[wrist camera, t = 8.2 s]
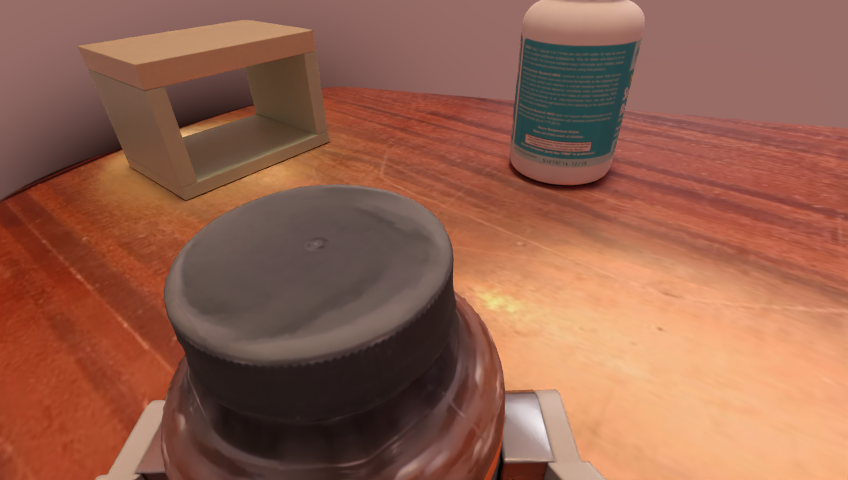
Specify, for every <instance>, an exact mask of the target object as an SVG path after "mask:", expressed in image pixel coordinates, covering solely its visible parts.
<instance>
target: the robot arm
mask: <svg viewBox="0 0 848 480" xmlns="http://www.w3.org/2000/svg"><path fill="white" fill-rule="evenodd" d="M164 404H165V400H153V401H152V402H151V403H150V404H149V405H148V406H147V407H146V408H145V409H144V411H143V413H142V414H141V416H140V418H139V420H138V421H137V423H136V425H135V427H134V428H133V430H132V432H131V434H130V435H129V437H128V439H127V441H126V442H125V444H124V446H123V448H122V450H121V451H120V453H119V455H118V457H117V458H116V460H115V462H114V464H113V465H112V467H111V469H110V471H109V472H108V474H107V475H100V476H98V477H97V478H96V479H95V480H168V477H167V475H166V472H165V468H164V461H163V458H162V454H161V424H162V416H163V407H164ZM497 480H607V479H606V478H605V477H604V476H603V475H602V474H601V473H600V472H599V471H598V470H597V469H596V468H595V467H594V466H593V465H592V464H591V463H590V462H584V461H582V460H581V457H580V454H579V451H578V448H577V445H576V442H575V439H574V436H573V432H572V429H571V426H570V423H569V420H568V417H567V414H566V411H565V408H564V405H563V402H562V398H561V395H560V393H559V392H558V391H557V390H555V389H553V390H513V391H505V420H504V428H503V435H502V446H501V452H500V464H499V467H498V473H497Z"/></svg>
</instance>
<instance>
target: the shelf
mask: <svg viewBox="0 0 848 480" xmlns="http://www.w3.org/2000/svg"><path fill="white" fill-rule="evenodd" d="M78 48H79V50H80V53H81V55H82V57H83V60H84V62H85V64H86V66H87V68H88V71H89V73H90V75H91V78H92V80H93V82H94V85H95V87H96V89H97V91H98V94H99V96H100V98H101V100H102V103H103V105H104V107H105V110H106V112H107V114H108V117H109V119H110V121H111V123H112V126H113V128H114V130H115V133H116V135H117V137H118V140H119V142H120V144H121V147H122V149H123V151H124V153H125V155H126V158H127V160H128V162H129V165H130V167H132V168H134V169H135V170H137V171H138V172H140V173H142V174H143V175H145V176H147V177H148V178H150V179H152V180H153V181H155V182H157V183H158V184H160V185H161V186H163V187H165V188H166V189H168V190H170V191H171V192H173V193H175V194H176V195H178V196H180V197H181V198H183V199H184V200H188V199H191V198H193V197H196V196H198V195H200V194H203V193H205V192H208V191H210V190H213V189H215V188H217V187H220V186H222V185H225V184H227V183H230V182H232V181H235V180H237V179H239V178H242V177H244V176H247V175H249V174H252V173H254V172H257V171H259V170H261V169H264V168H266V167H269V166H271V165H274V164H276V163H278V162H281V161H283V160H286V159H288V158H291V157H293V156H296V155H298V154H300V153H303V152H305V151H308V150H310V149H313V148H315V147H317V146H320V145H322V144H325V143H327V142H329V137H328V131H327V123H326V117H325V110H324V103H323V97H322V90H321V83H320V76H319V70H318V63H317V57H316V51H315V50H316V48H315V41H314V36H313V30H310V29H303V28H297V27H291V26H284V25H277V24H271V23H264V22H258V21H251V20H241V21H235V22H228V23H221V24H215V25H209V26H203V27H196V28H190V29H183V30H178V31H171V32H165V33H158V34H152V35H145V36H139V37H132V38H127V39H120V40H113V41H107V42H101V43H94V44H88V45H81V46H78ZM244 67H245V69H246V73H247V77H248V82H249V86H250V90H251V94H252V98H253V102H254V107H255V111H256V115H252V116H249V117H246V118H243V119H240V120H237V121H233V122H230V123H227V124H224V125H221V126H218V127H214V128H211V129H208V130H205V131H202V132H199V133H195V134H192V135H189V136H186V137H183V138H182V136H181V133H180V130H179V127H178V124H177V121H176V118H175V115H174V113H173V110H172V107H171V104H170V101H169V99H168V95H167V92H166V90H165V87H164V86H167V85H171V84H175V83H180V82H184V81H188V80H192V79H197V78H201V77H205V76H209V75H214V74H218V73H222V72H227V71H231V70H235V69H239V68H244Z"/></svg>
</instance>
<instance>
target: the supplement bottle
mask: <svg viewBox="0 0 848 480" xmlns="http://www.w3.org/2000/svg"><path fill="white" fill-rule="evenodd" d="M164 301H165V307H166V311H167V315H168V318H169V320H170V322H171V324H172V326H173V328H174V330H175V333H176V336H177V339H178V341H179V343H180V344H181V345H182V347H183V349H184V351H185V356H184V357H183V358H182V359H181V361H180V362H179V365H178V368H177V370H176V372H175V374H174V376H173V378H172V381H171V383H170V387H169V389H168V392H167V395H166V397H165V404H164V407H163V416H162V424H161V454H162V458H163V461H164V468H165V472H166V475H167V477H168V480H497V473H498V467H499V464H500V452H501V446H502V435H503V428H504V420H505V387H504V378H503V370H502V365H501V361H500V358H499V355H498V352H497V349H496V346H495V344H494V341H493V339H492V336H491V334H490V332H489V331H488V329H487V327H486V325H485V323H484V322H483V321H482V320H481V318H480V316H479V315H478V314H477V313H476V312H475V311H474V309H473V308H472V307H471V306H470V305H469V304H468V303H467V301H466V300H465V298H462V297H461V296H460V295H458V294H457V293H456V292H455V291H454V289H453V249H452V245H451V241H450V239H449V236H448V234H447V232H446V230H445V228H444V226H443V224H442V223H441V222H440V220H439V219H437V218H436V216H435V215H434V214H433V213H432V212H430V211H429V210H427V209H426V208H425V207H423V206H422V205H420V204H419V203H417V202H416V201H414V200H412V199H410V198H407V197H404V196H402V195H400V194H398V193H395V192H392V191H387V190H382V189H378V188H371V187H365V186H354V185H337V184H336V185H315V186H305V187H298V188H294V189H289V190H285V191H281V192H276V193H273V194H270V195H267V196H264V197H261V198H259V199H256V200H253V201H251V202H248V203H245V204H243V205H241V206H239V207H237V208H235V209H233V210H231V211H228V212H226V213H224V214H223V215H221V216H219V217H218V218H216V219H215V220H213V221H212V222H211V223H209V224H208V225H207V226H205V227H204V228H203V229H201V230H200V231H199V232H198V233H197V234H196V235H195V236H194V237H192V239H191V240H190V241H189V242H188V243H187V244H185V246H184V247H183V248H182V250H181V251H180V253H179V254H178V255H177V257H176V258H175V259H174V261H173V264H172V266H171V268H170V271H169V274H168V276H167V278H166V280H165V288H164Z"/></svg>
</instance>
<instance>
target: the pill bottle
mask: <svg viewBox="0 0 848 480" xmlns="http://www.w3.org/2000/svg"><path fill="white" fill-rule="evenodd" d="M644 26H645V18H644V14H643V12H642V11H641V9H640V8H639V7H638V6H637V5H636V4H635V3H633V2H631V1H629V0H540V1H538V2H537V3H535V4H534V5H533V6H531V7H530V9H529V10H528V11H527V13H526V14H525V16H524V19H523V24H522V32H521V43H520V53H519V64H518V75H517V85H516V95H515V105H514V115H513V125H512V135H511V145H510V160H511V163H512V165H513V166H514V167H515V169H516V170H518V171H519V172H520V173H521V174H523V175H525V176H527V177H529V178H531V179H534V180H537V181H540V182H544V183H549V184H556V185H579V184H585V183H590V182H593V181H596V180H598V179H600V178H601V177H603V176H604V175H605V174H606V173H607V172H608V171H609V169H610V167H611V164H612V160H613V156H614V152H615V148H616V144H617V139H618V135H619V131H620V127H621V123H622V119H623V114H624V110H625V106H626V101H627V97H628V93H629V89H630V85H631V81H632V76H633V72H634V68H635V64H636V60H637V56H638V52H639V48H640V43H641V40H642V34H643V31H644Z"/></svg>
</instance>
